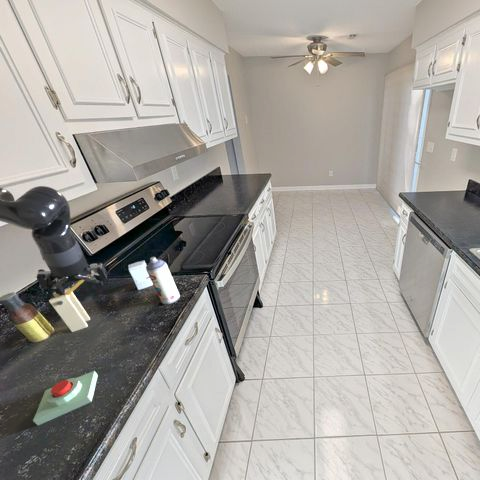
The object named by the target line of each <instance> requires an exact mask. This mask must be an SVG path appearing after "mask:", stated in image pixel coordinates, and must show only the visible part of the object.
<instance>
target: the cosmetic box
mask: <svg viewBox="0 0 480 480" xmlns="http://www.w3.org/2000/svg"><path fill="white" fill-rule="evenodd" d="M146 266H147V263H146V261H145V260H140V261H135V262H134V263H130V264H128V272H129V275H130V277H131V278H132V280H133V281H134V284H135V286H136V288H137V290H138V291H140V290H143V289H147V288H149V287H151V286H154V285H153V283H152V281H151V279H150V277H149V275H148V273H147V270H146Z"/></svg>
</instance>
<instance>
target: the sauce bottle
mask: <svg viewBox="0 0 480 480" xmlns="http://www.w3.org/2000/svg"><path fill="white" fill-rule="evenodd" d="M0 304H1V305H2V306H3V307H4V308H5V309H6V311H7V314H8V319H9V320H10V322H11V323H12V324H13V325H14V326H15V327H16V328H17V329H18V330H19V331H20V333H21V334H22V335H24V337H26V339H28V341H30V342H31V343H33V344H36V343H40V342H44V341H45V340H47V339H49V338H50V337H51V336H53V335H54V333H55V328H54V327H53V325H52V324H51V323H50V322H49V320H47V319H46V318H45V317H44V316H43V315H42V314H41V312H40V311H39V310H38V309H36V307H35V306H34V305H32V304H30V303H27V302H24V301H23V300H22V298H20V297H19V294H18V293H17V292H8V293H6V294H3V295H2V296H0Z"/></svg>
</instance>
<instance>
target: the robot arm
mask: <svg viewBox="0 0 480 480" xmlns="http://www.w3.org/2000/svg"><path fill="white" fill-rule="evenodd" d="M71 220H72V219H71V207H70V204H69V201H68V200H67V198H66V197H65V196H64V194H62V193H61V192H60V191H59V190H57V189H55V188H53V187H50V186H46V185H45V186H44V185H39V186H34V187H32V188H30V189H28V190H27V191H26V192H24V193H23V194H22V195H21V196H19V197H18V198H17V199H16V200H15V197H14V195H13V194H12V192H11V191H9V190H8V189H6V188H4V187H0V222H2V223H6V224H9V225H11V226H15V227H16V228H17V227H18V228H21V229H24V230H31V233H30V235H31V238H32V240H33V242H34V243H35V245H36V247H37V248H38V250H39V254H40V256H41V259H42V260H43V261H44V263H45V264H46V266H47V267H48V269H49V270H45V269H42V268H41V269H38V270H37V274H36V276H35V277H36V280H37V282H38V283H39V285H40V288H41V289H42V290H48V289H52V290H54V292H56V294H60V296H62V295H64V293H65V289H66V288H65V287H64V285H63V284H64V283H65V282H67V283H70V282H75V281H76V282H78V281H79V280H85V281H84V282H88V283H90V282H91V283H94V286H95V288H96V290H97V291H100V290H101V289H103V287H104V283H103V282H106V281H107V280H108V272H107V270H106V268H105V266H104V263H102V262H97V263H96V264H97V265H96V266H90V265H91V264H88V262H87V259H86V257H85V255H84V252H83V250H82V248H81V246H80V244H79V243H78V241H77V239H76V237H75V235H74V233H73V231H72V228H71V227H72V225H71V224H72V221H71ZM92 270H93V271H92ZM94 271H95V272H96V273H97V274H96V273H94ZM87 275H88V277H87ZM50 276H51V277H52V278H55V279H54V280H52V281H51V280H50V279H49V278H50Z"/></svg>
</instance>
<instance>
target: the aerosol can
mask: <svg viewBox="0 0 480 480" xmlns="http://www.w3.org/2000/svg"><path fill="white" fill-rule="evenodd" d="M146 270H147V273H148V275H149V277H150V279H151V281H152V283H153V285H152V286H153V287H154V289H155V292H156V294H157V296H158V299H159V300H160V302H161V304H162V305H165V306H166V305H167V306H168V305H169V306H170V305H171V304H174V303H176V302H178V301H179V299H180V298H181V294H180V292H179V290H178V288H177V285H176V282H175V281H174V278H173V276H172V273H171V271H170V269H169V265H168V264H167V262H166V260H163V259H159V258H156V256H151V257H150V258H149V262H148V263H147V264H146Z"/></svg>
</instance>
